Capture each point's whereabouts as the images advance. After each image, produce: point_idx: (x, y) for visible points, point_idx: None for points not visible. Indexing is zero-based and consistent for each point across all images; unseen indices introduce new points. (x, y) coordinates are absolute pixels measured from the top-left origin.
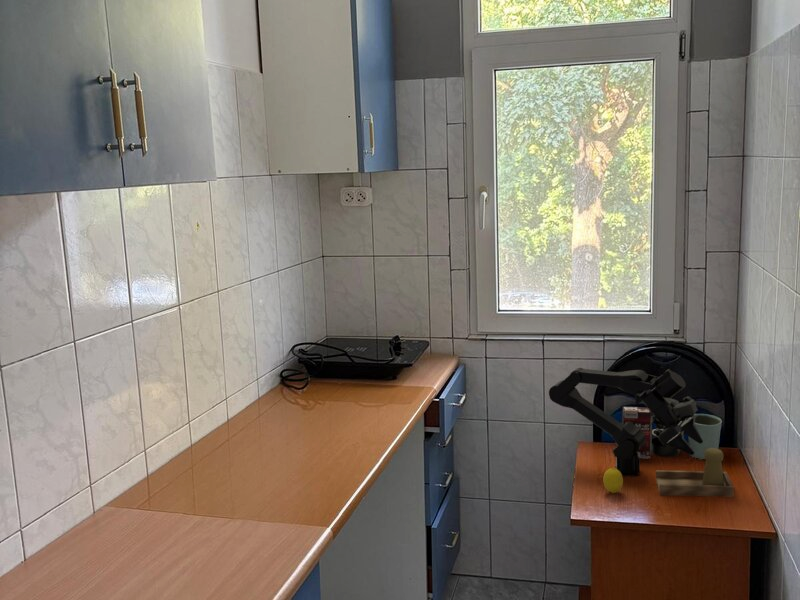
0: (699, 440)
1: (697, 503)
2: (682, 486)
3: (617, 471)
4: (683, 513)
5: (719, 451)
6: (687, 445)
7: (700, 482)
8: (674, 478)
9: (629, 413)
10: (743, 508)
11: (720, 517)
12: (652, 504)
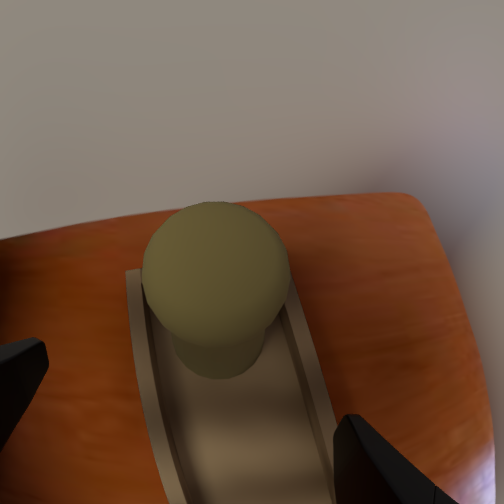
0: (30, 368)
1: (369, 377)
2: None
3: None
4: (442, 398)
5: (230, 212)
6: (427, 478)
7: (202, 386)
8: (192, 491)
9: None
10: (343, 238)
11: (423, 296)
12: None
